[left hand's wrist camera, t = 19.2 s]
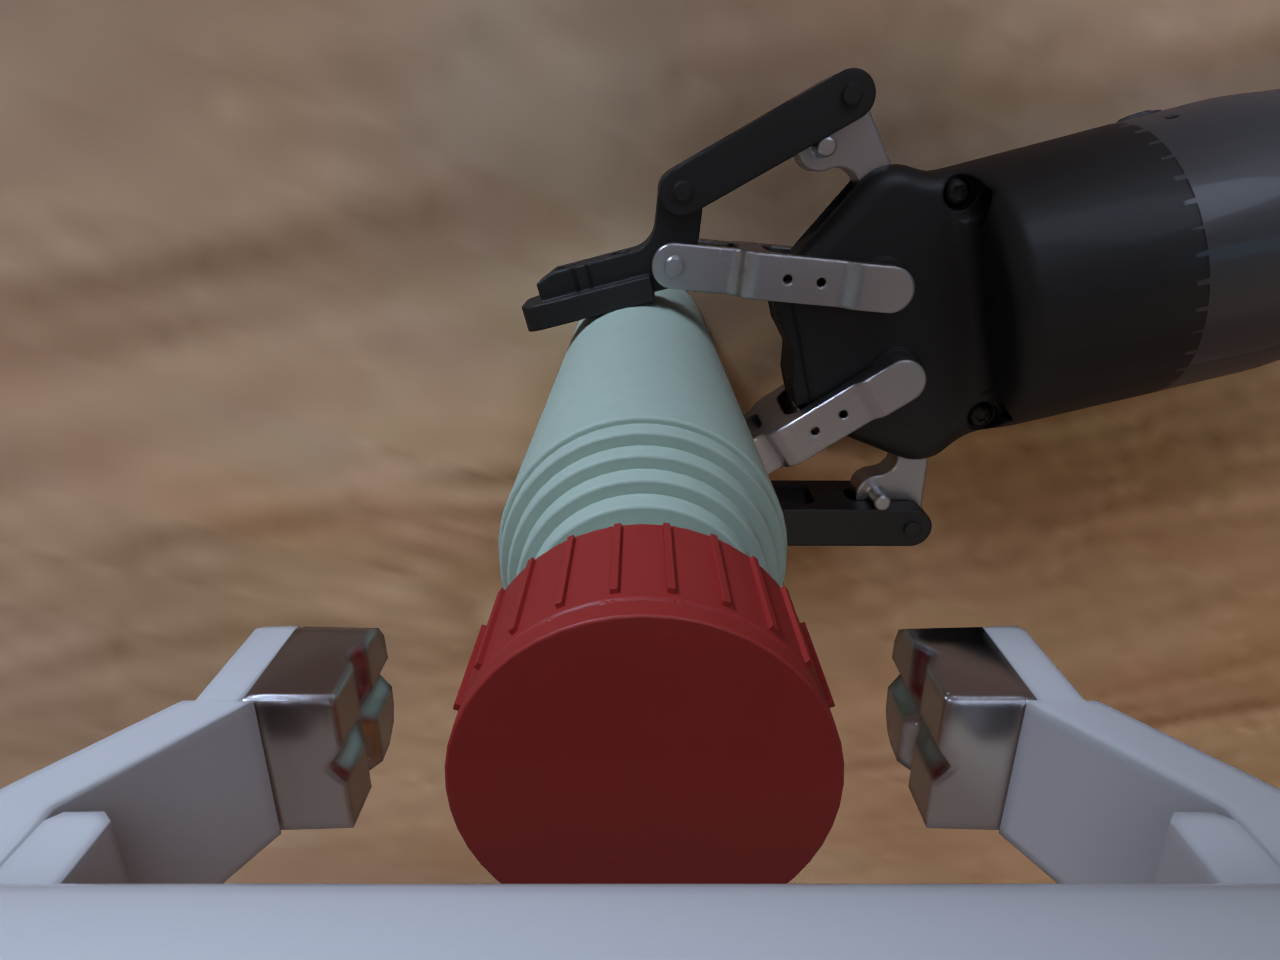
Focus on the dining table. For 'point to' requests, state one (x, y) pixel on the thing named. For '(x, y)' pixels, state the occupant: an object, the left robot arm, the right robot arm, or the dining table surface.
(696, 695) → the cap
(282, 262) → the dining table surface
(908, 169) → the right robot arm
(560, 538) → the bottle
